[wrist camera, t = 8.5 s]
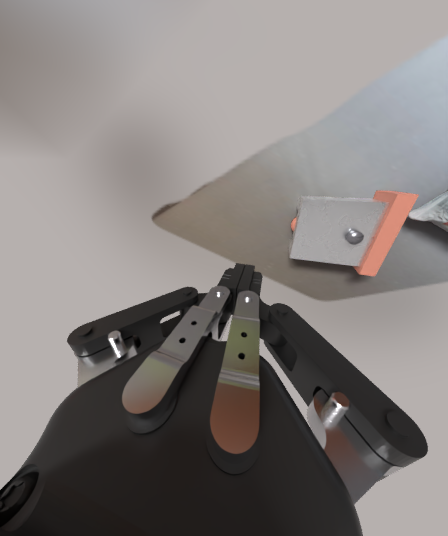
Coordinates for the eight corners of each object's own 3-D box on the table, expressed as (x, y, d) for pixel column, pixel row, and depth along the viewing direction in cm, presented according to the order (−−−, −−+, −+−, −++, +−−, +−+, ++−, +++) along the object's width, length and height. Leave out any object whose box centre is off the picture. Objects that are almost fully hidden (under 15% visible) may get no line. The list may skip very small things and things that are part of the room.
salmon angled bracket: (393, 191, 23) (419, 194, 19) (360, 261, 29) (374, 276, 24) (298, 188, 26) (302, 190, 22) (284, 252, 31) (286, 264, 27)
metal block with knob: (372, 198, 24) (394, 204, 20) (348, 254, 29) (362, 269, 24) (299, 195, 27) (304, 199, 22) (288, 247, 31) (290, 260, 26)
